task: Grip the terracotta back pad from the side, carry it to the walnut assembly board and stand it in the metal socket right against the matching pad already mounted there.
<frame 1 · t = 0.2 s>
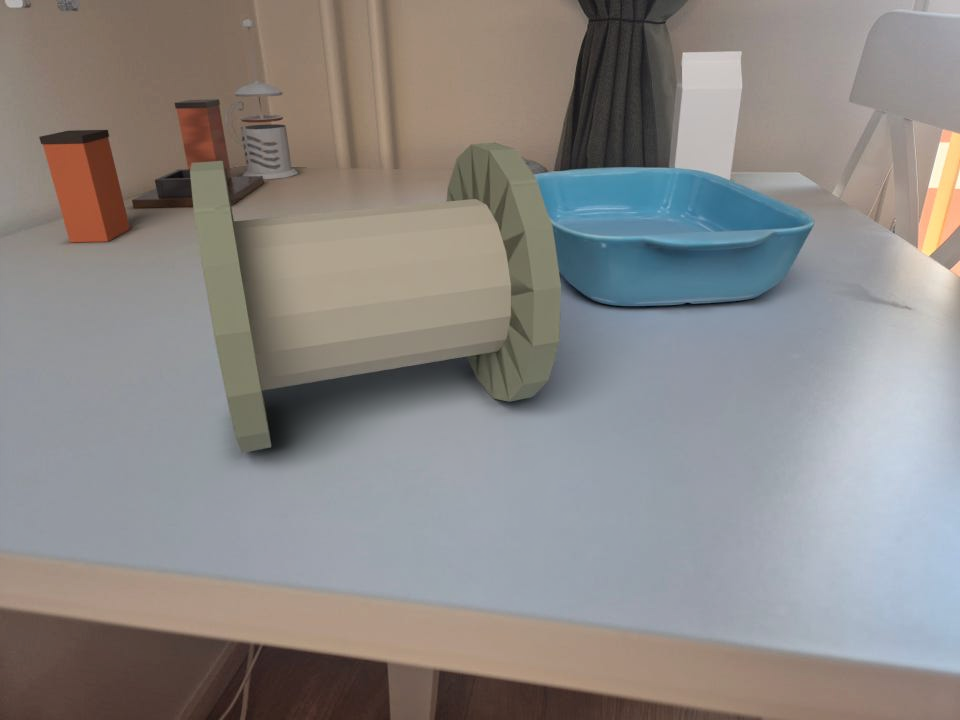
hand: (46, 9, 74), 25 cm above the table, tool pointing down, fingers open, 8 cm apart
spool: (382, 409, 42), on the table
pad dock: (203, 194, 106), on the table
flying saucer: (505, 191, 105), on the table
loose pad: (101, 235, 83), on the table
french press: (265, 175, 122), on the table
milk carton: (694, 206, 92), on the table
casserole dish: (638, 264, 69), on the table
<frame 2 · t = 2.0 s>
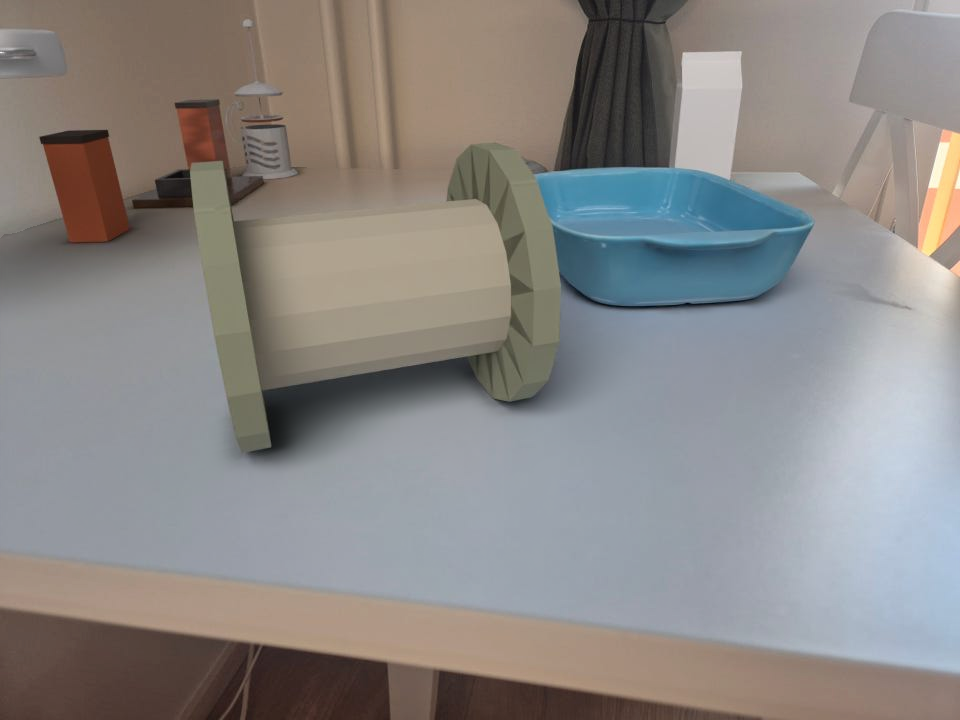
nothing on the table moved.
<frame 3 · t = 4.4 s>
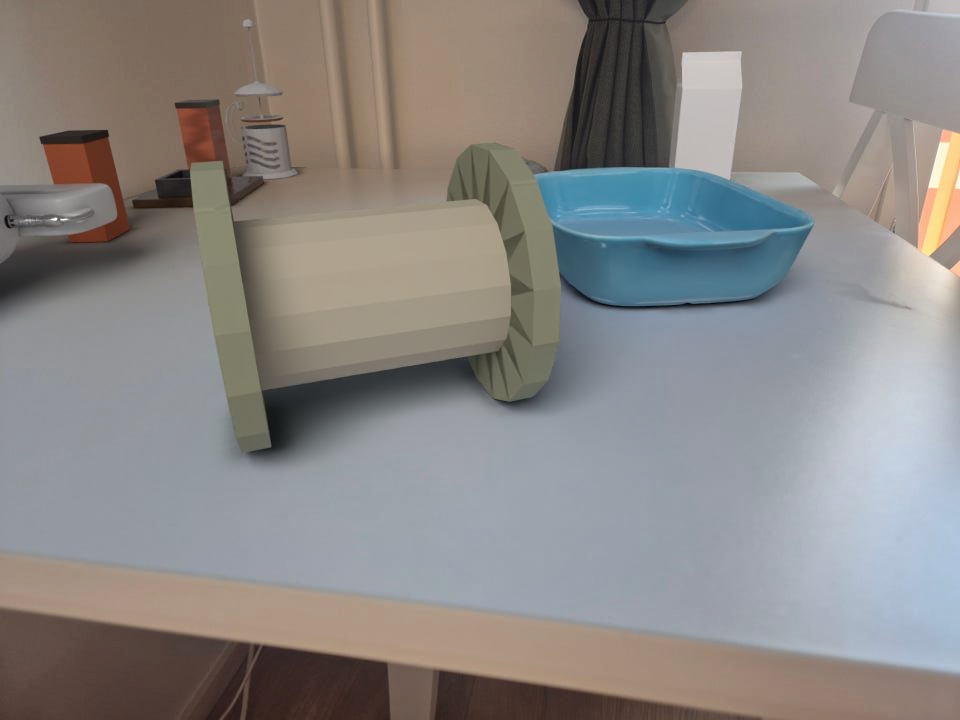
hand: (43, 193, 72), 7 cm above the table, tool horizontal, fingers open, 8 cm apart
nothing on the table moved.
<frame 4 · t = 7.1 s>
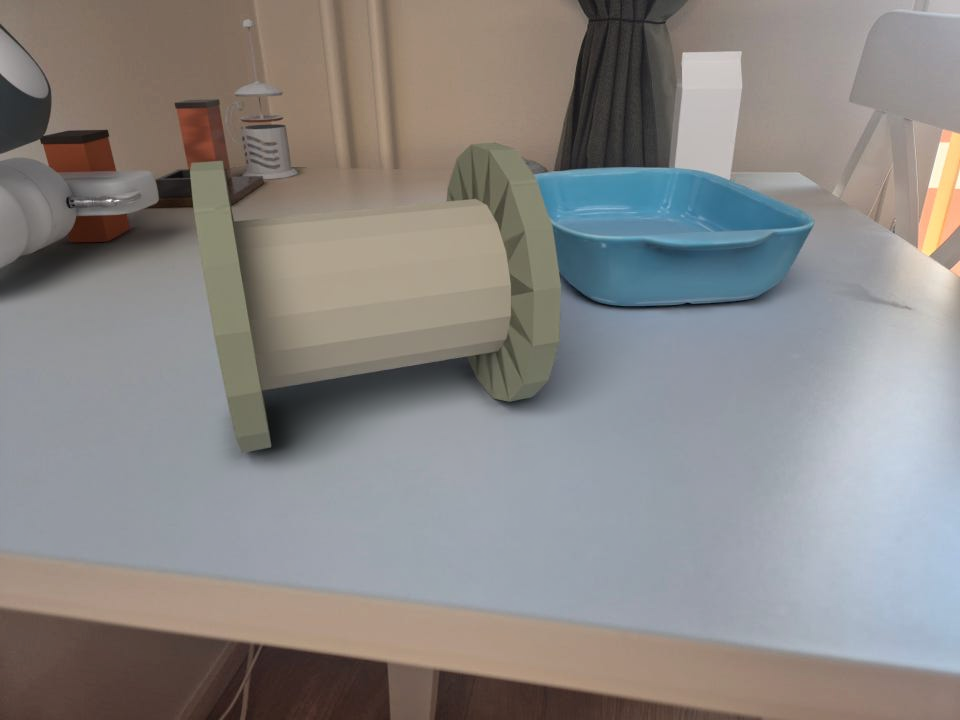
hand: (90, 180, 81), 7 cm above the table, tool horizontal, fingers closed on loose pad, 4 cm apart
loose pad: (101, 235, 83), on the table, touching gripper
everything else where it was.
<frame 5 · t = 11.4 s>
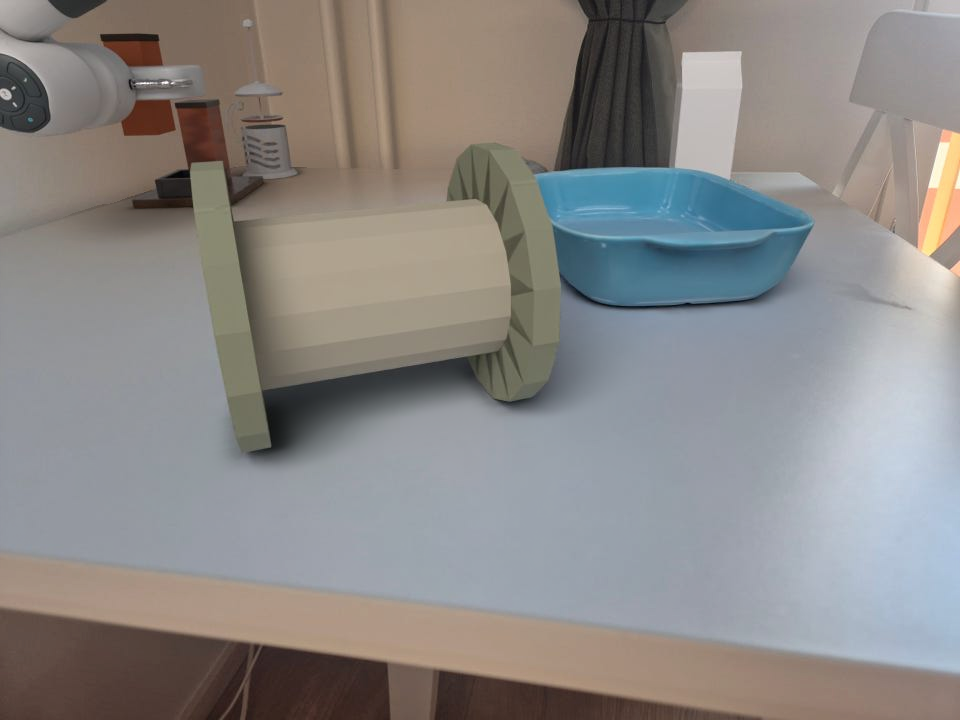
hand: (142, 80, 89), 17 cm above the table, tool horizontal, fingers closed on loose pad, 4 cm apart
loose pad: (150, 133, 91), point 10 cm above the table, touching gripper
everything else where it was.
when the fingers open (8 cm above the table, at t = 15.6 s): loose pad stays where it is, resting on pad dock.
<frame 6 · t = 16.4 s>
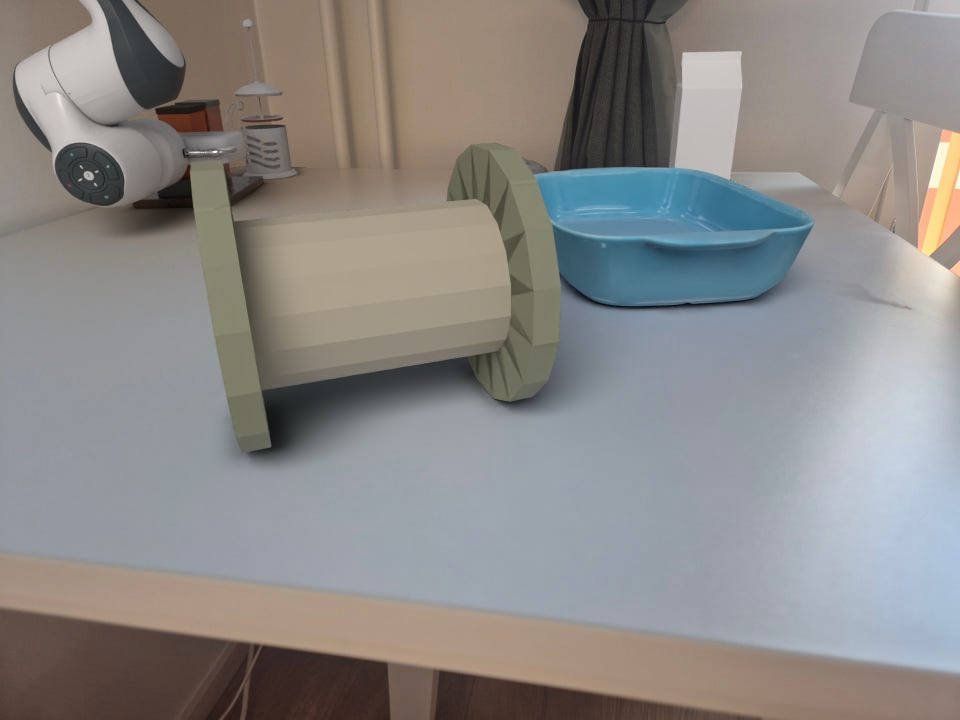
hand: (187, 141, 100), 8 cm above the table, tool horizontal, fingers open, 8 cm apart
loose pad: (196, 190, 102), point 1 cm above the table, touching pad dock
everything else where it was.
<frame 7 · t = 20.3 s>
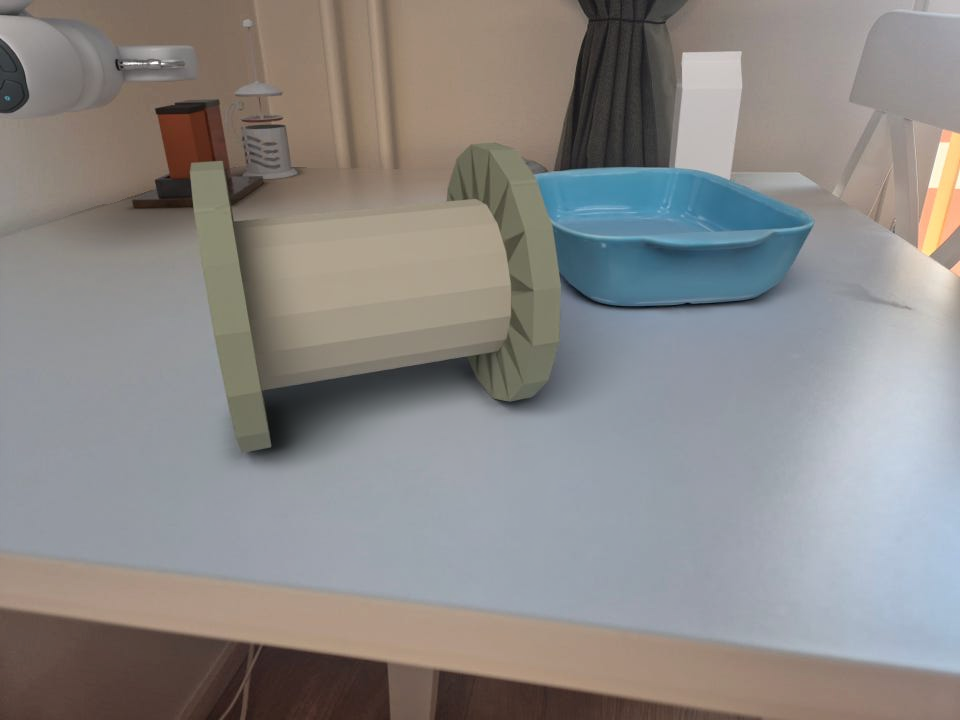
hand: (131, 62, 84), 19 cm above the table, tool horizontal, fingers open, 8 cm apart
nothing on the table moved.
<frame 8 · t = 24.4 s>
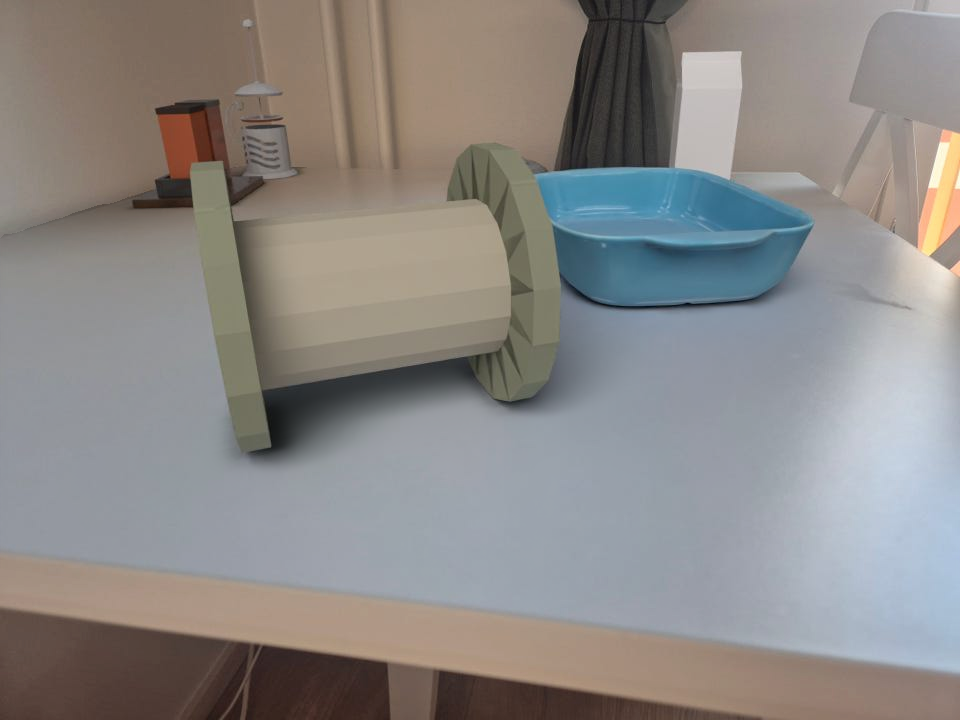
nothing on the table moved.
at the end: loose pad 0.1 cm from the target spot on the pad dock, point 1.2 cm above the pad dock's base; loose pad tilted 0°; the gripper is holding nothing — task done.
